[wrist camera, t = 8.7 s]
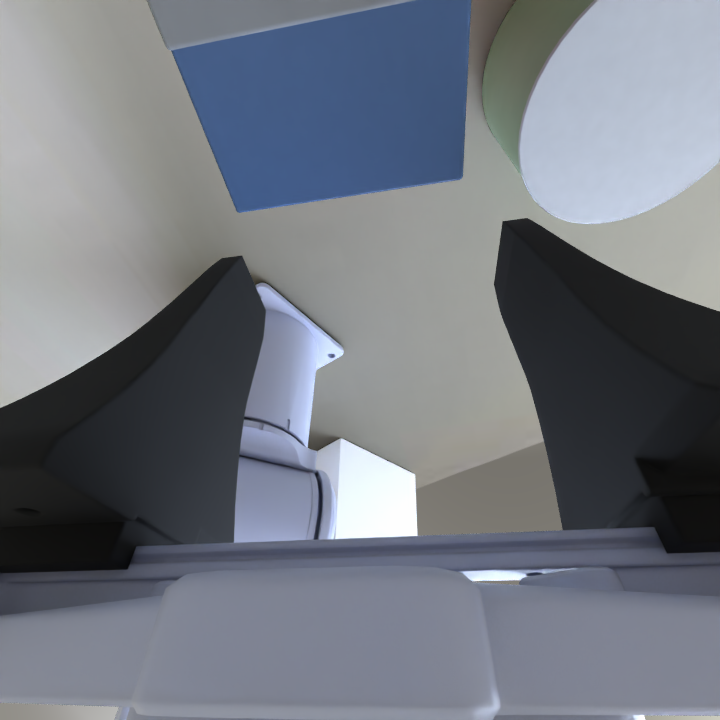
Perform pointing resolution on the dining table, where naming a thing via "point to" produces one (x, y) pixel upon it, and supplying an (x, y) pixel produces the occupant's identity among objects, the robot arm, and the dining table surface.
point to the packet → (324, 92)
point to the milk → (368, 493)
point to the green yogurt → (606, 101)
